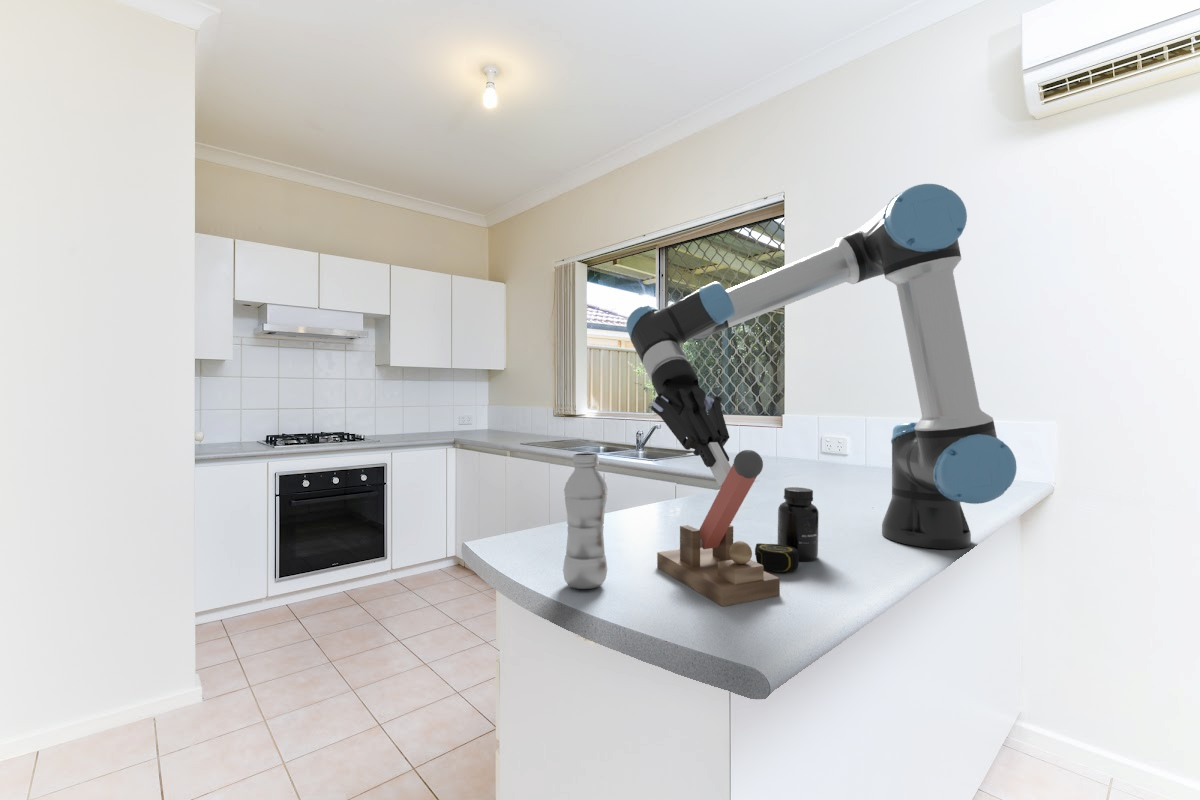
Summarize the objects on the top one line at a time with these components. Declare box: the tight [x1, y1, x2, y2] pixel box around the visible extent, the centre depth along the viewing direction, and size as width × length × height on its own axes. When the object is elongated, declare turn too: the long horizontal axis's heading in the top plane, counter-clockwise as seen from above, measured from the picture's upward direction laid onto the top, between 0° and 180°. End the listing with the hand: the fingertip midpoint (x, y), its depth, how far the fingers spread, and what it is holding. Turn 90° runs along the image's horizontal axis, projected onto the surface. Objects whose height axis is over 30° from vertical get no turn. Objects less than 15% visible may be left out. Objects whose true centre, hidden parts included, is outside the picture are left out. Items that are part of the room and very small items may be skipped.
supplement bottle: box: [777, 486, 820, 562], centre depth 96 cm, size 7×7×12 cm
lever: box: [698, 449, 764, 549], centre depth 81 cm, size 4×4×20 cm
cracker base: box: [656, 524, 781, 607], centre depth 84 cm, size 18×10×8 cm, turn 23°
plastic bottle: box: [562, 452, 609, 590], centre depth 81 cm, size 6×7×20 cm
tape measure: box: [754, 542, 800, 573], centre depth 90 cm, size 7×7×4 cm
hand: (727, 481), depth 81 cm, fingers closed
